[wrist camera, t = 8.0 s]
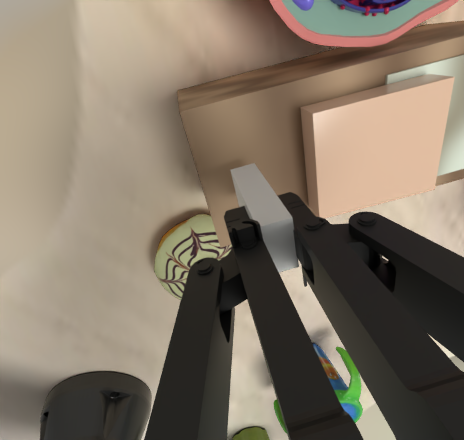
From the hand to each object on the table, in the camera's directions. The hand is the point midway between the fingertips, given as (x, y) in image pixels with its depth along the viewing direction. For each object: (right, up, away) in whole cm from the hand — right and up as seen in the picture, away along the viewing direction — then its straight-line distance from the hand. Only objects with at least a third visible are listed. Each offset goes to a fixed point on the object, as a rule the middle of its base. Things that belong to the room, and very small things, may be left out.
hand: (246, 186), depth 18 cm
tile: (+4, +1, +1) cm, 4 cm away
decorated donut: (-4, -6, +17) cm, 18 cm away
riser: (+7, +8, +10) cm, 15 cm away
